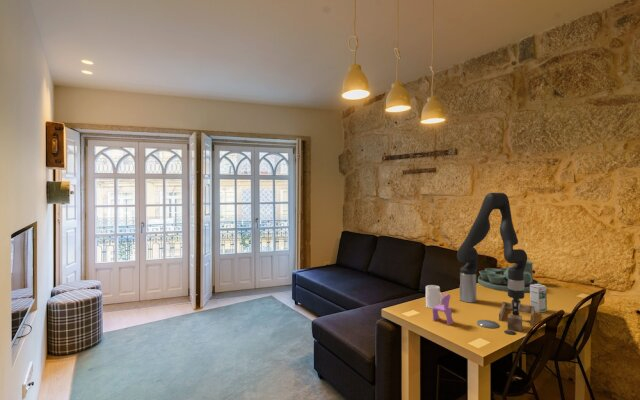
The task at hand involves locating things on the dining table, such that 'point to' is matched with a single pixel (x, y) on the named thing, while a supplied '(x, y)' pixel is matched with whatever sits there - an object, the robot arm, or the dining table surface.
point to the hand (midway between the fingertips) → (516, 319)
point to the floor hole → (509, 332)
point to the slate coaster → (487, 324)
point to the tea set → (505, 278)
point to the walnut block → (514, 322)
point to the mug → (433, 296)
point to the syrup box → (538, 297)
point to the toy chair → (443, 309)
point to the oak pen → (522, 308)
